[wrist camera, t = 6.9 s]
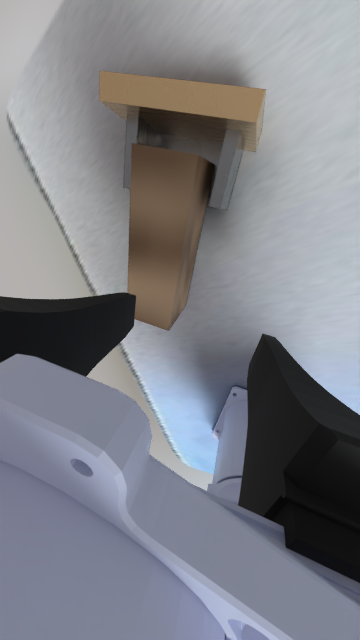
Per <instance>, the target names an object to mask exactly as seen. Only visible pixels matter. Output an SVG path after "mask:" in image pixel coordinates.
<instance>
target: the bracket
mask: <svg viewBox="0 0 360 640" xmlns="http://www.w3.org/2000/svg"><path fill="white" fill-rule="evenodd" d="M265 93H266V89H259V88H250V87H241V86H232V85H223V84H214V83H205V82H196V81H187V80H178V79H169V78H160V77H151V76H142V75H133V74H124V73H115V72H106V71H100V101H101V102H102V103H103V104H105V105H106V106H107V107H109V108H110V109H111V110H113V111H114V112H115V113H117V114H118V115H119V116H121V117H122V118H123V119H125V120H126V121H127V124H126V144H125V164H124V183H123V188H127V189H130V187H131V150H132V143H135V144H141V145H146V146H152V147H158V148H163V149H169V150H175V151H181V152H186V153H192V154H198V155H200V156H201V157H203V158H205V159H206V160H208V161H210V162H211V163H213V164H215V167H214V171H213V176H212V181H211V186H210V191H209V196H208V200H207V205H206V206H209V207H213V208H218V209H222V210H227V209H228V205H229V201H230V198H231V194H232V190H233V186H234V183H235V179H236V175H237V171H238V168H239V164H240V160H241V156H242V153H243V150H247V151H253V152H256V149H257V145H258V142H259V138H260V135H261V132H262V123H263V113H264V103H265Z"/></svg>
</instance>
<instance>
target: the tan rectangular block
mask: <svg viewBox="0 0 360 640" xmlns="http://www.w3.org/2000/svg"><path fill="white" fill-rule="evenodd" d="M214 167H215V164H213V163H211V162H210V161H208V160H206V159H205V158H203V157H201V156H200V155H198V154H192V153H186V152H181V151H175V150H169V149H163V148H158V147H152V146H146V145H141V144H135V143H132V150H131V187H130V223H129V260H128V293H130V294H133V295H136V305H135V317H134V319H136V320H139V321H142V322H145V323H148V324H151V325H154V326H157V327H160V328H162V329H165V330H168V331H169V330H170V328H171V327H172V325H173V324H174V322H175V321H176V319H177V318H178V316H179V315H180V313H181V312H182V310H183V309H184V307H185V306H186V302H187V297H188V292H189V288H190V283H191V278H192V273H193V268H194V263H195V259H196V254H197V249H198V244H199V239H200V234H201V229H202V225H203V220H204V215H205V210H206V205H207V200H208V196H209V191H210V186H211V181H212V176H213V171H214Z"/></svg>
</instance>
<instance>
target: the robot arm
mask: <svg viewBox="0 0 360 640" xmlns="http://www.w3.org/2000/svg"><path fill="white" fill-rule="evenodd" d="M135 305H136V295H133V294H130V293H114V294H107V295H100V296H92V297H84V298H75V299H55V300H54V299H52V300H49V299H22V298H11V297H1V296H0V640H360V415H359V414H357V413H356V412H354V411H353V410H351V409H350V408H349V407H347V406H346V405H345V404H343V403H342V402H341V401H339V400H338V399H337V398H335V397H334V396H333V395H331V394H330V393H329V392H328V391H326V390H325V389H324V388H323V387H322V386H321V385H320V384H318V383H317V382H316V381H315V380H314V379H313V378H312V377H311V376H310V375H309V374H308V373H307V372H306V371H305V370H304V369H303V368H302V367H301V366H300V365H299V364H298V363H297V362H296V361H295V360H294V359H293V357H292V356H291V355H290V354H289V353H288V352H287V350H286V349H285V348H284V347H283V346H282V344H281V343H280V342H279V341H278V340H277V339H276V338H275V337H272V336H269V335H265V334H262V336H261V339H260V341H259V343H258V346H257V348H256V350H255V352H254V355H253V357H252V359H251V362H250V364H249V370H248V378H247V390H245V389H242V388H240V387H236V386H234V387H232V389H231V391H230V394H229V396H228V398H227V401H226V403H225V405H224V407H223V410H222V412H221V414H220V417H219V419H218V421H217V423H216V426H215V428H214V430H213V433H212V436H213V437H214V438H216V439H219V443H218V450H217V456H216V463H215V469H214V475H213V483H212V484H208V490H207V491H205V490H203V489H201V488H199V487H197V486H195V485H193V484H191V483H189V482H188V481H186V480H185V479H183V478H182V477H181V476H179V475H178V474H176V473H175V472H174V471H172V470H171V469H169V468H168V467H167V466H165V465H164V464H162V463H161V462H160V461H158V460H157V459H155V458H154V457H152V456H151V455H150V454H149V449H150V443H151V438H152V433H151V428H150V423H149V419H148V417H147V415H146V414H145V413H144V411H143V410H142V409H141V407H140V406H139V405H138V404H137V402H136V401H135V400H133V399H132V398H130V397H129V396H127V395H125V394H124V393H122V392H121V391H119V390H117V389H115V388H112V387H110V386H108V385H105V384H102V383H100V382H97V381H95V380H93V379H90V378H88V377H86V376H87V375H88V374H89V373H90V371H91V370H92V369H93V368H94V367H95V366H96V365H97V363H99V362H100V361H101V360H102V359H103V358H104V357H105V356H106V355H107V354H108V353H109V352H110V351H111V350H112V349H113V348H114V347H116V346H117V345H118V344H119V343H120V342H121V341H122V340H123V339H124V338H125V337H126V335H127V334H128V333H129V332H130V330H131V329H132V328H133V326H134V317H135ZM233 393H236V394H233Z"/></svg>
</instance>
